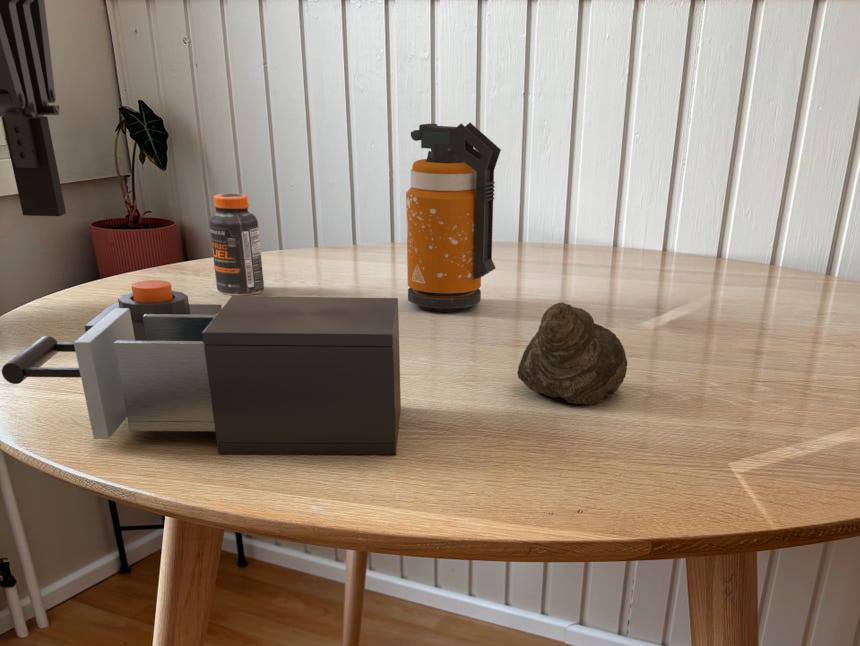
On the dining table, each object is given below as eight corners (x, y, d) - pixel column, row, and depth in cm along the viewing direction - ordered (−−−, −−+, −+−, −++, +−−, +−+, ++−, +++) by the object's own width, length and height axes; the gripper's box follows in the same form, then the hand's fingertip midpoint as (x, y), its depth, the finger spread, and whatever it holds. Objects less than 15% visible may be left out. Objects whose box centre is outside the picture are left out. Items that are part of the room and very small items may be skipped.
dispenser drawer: (10, 438, 72) (-15, 341, 68) (57, 395, 81) (37, 307, 77) (257, 440, 73) (247, 344, 69) (277, 397, 82) (268, 309, 78)
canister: (429, 294, 121) (428, 117, 110) (507, 304, 117) (514, 122, 106) (394, 308, 114) (389, 121, 104) (475, 319, 110) (479, 127, 100)
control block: (88, 347, 97) (80, 307, 95) (116, 323, 106) (109, 286, 104) (205, 348, 98) (200, 309, 96) (223, 324, 106) (219, 287, 104)
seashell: (472, 323, 84) (538, 347, 77) (563, 239, 86) (636, 255, 79) (524, 415, 92) (588, 445, 85) (606, 336, 94) (676, 359, 86)
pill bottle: (207, 291, 120) (194, 194, 114) (242, 284, 124) (231, 190, 118) (240, 298, 117) (228, 199, 111) (274, 290, 121) (265, 194, 115)
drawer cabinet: (218, 454, 73) (201, 332, 68) (244, 405, 83) (231, 295, 78) (396, 455, 73) (392, 334, 68) (400, 406, 83) (398, 297, 78)
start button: (129, 305, 98) (126, 288, 97) (139, 296, 101) (136, 279, 100) (168, 306, 98) (165, 288, 97) (177, 297, 102) (174, 280, 101)
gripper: (-23, -216, 53) (65, 230, 66) (57, -173, 64) (119, 202, 77) (-158, -222, 53) (-43, 227, 66) (-55, -178, 64) (26, 200, 77)
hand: (44, 214), depth 71 cm, fingers closed
